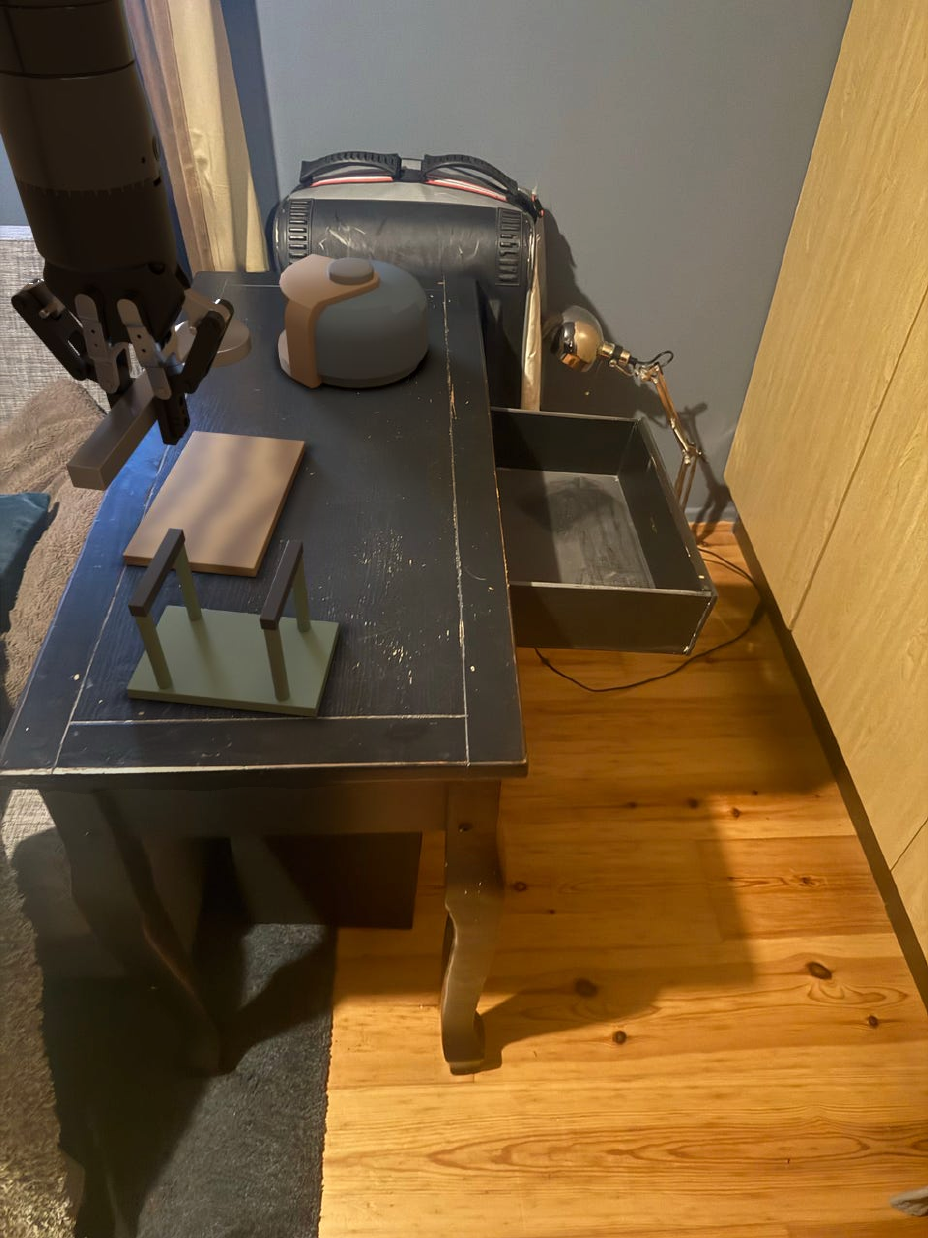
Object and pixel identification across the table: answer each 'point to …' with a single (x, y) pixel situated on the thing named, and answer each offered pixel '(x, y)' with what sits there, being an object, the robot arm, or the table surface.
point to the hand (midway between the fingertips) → (156, 435)
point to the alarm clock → (351, 322)
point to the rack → (231, 643)
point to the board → (221, 502)
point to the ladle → (140, 415)
